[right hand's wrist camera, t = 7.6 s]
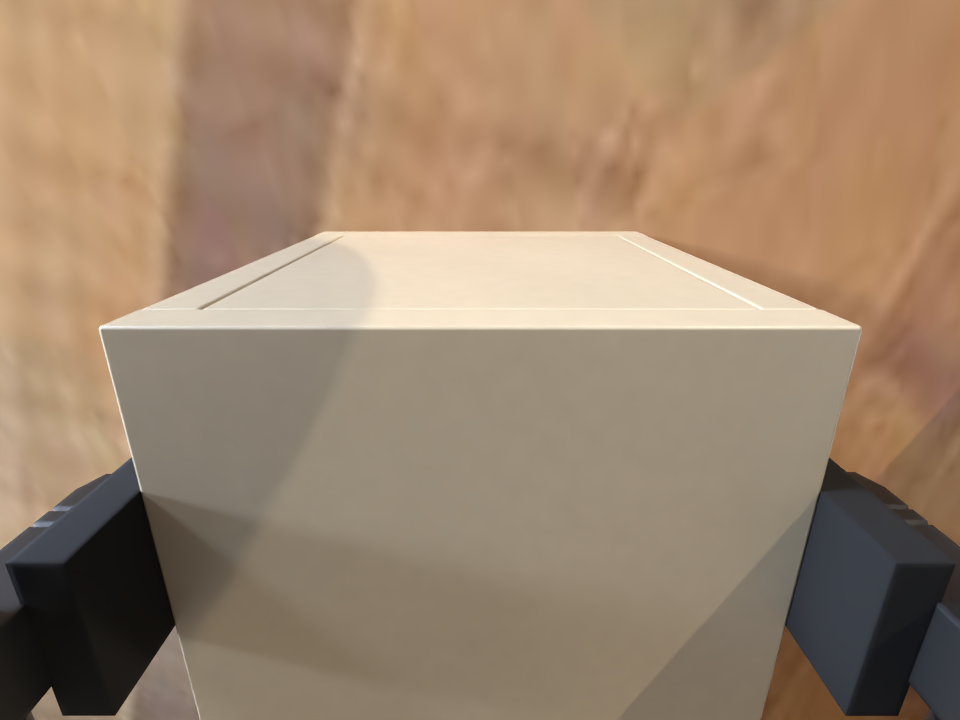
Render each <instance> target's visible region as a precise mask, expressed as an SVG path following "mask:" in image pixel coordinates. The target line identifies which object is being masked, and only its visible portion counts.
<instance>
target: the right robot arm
mask: <svg viewBox="0 0 960 720" xmlns="http://www.w3.org/2000/svg"><path fill="white" fill-rule="evenodd" d="M174 626H175V622H174V618H173V614H172V610H171V606H170V602H169V598H168V595H167V591H166V587H165V583H164V579H163V575H162V571H161V568H160V564H159V560H158V556H157V552H156V548H155V544H154V540H153V537H152V533H151V529H150V525H149V521H148V517H147V513H146V510H145V506H144V502H143V498H142V494H141V490H140V486H139V483H138V479H137V475H136V471H135V467H134V463H133V459H132V458H130V459H129V460H128V461H127V462H126V463H124V464H123V465H122V466H121V467H120V468H118V469H117V470H116V471H115V472H114V473H112V474H105V475H103V476H102V477H100V478H98V479H96V480H94V481H92V482H90V483H88V484H86V485H84V486H82V487H80V488H78V489H76V490H75V491H74V492H72V493H71V494H70V495H69V496H67V497H66V498H65V499H64V500H62V501H61V502H60V503H59V504H57V505H56V506H55V507H54V508H53V511H49V512H47V513H46V514H45V515H44V516H42V517H41V518H40V519H39V520H37V521H36V522H35V523H34V527H29V528H27V529H26V530H25V531H24V532H22V533H21V534H20V535H19V536H17V537H16V538H15V539H14V540H12V541H11V542H10V543H9V544H7V545H6V546H5V547H4V548H2V549H1V550H0V720H34V717H33V715H32V713H31V710H32V709H33V708H34V707H35V705H36V704H37V703H38V702H39V701H40V699H41V698H42V697H43V696H44V695H45V693H46V692H47V691H48V690H49V688H50V687H51V686H52V689H53V691H54V694H55V697H56V699H57V702H58V704H59V707H60V710H61V712H62V715H63V716H115V715H116V713H117V712H118V710H119V709H120V707H121V706H122V704H123V703H124V701H125V700H126V698H127V697H128V695H129V694H130V692H131V691H132V689H133V688H134V686H135V685H136V683H137V682H138V680H139V679H140V677H141V676H142V674H143V673H144V671H145V670H146V668H147V667H148V665H149V664H150V662H151V661H152V659H153V658H154V656H155V655H156V653H157V652H158V650H159V649H160V647H161V646H162V644H163V643H164V641H165V640H166V638H167V637H168V635H169V634H170V632H171V631H172V629H173V628H174ZM786 627H787V628H788V630H789V631H790V633H791V634H792V636H793V637H794V639H795V640H796V642H797V643H798V645H799V646H800V648H801V649H802V651H803V652H804V654H805V655H806V657H807V658H808V660H809V661H810V663H811V664H812V666H813V667H814V669H815V670H816V672H817V673H818V675H819V676H820V678H821V679H822V681H823V682H824V684H825V685H826V687H827V688H828V690H829V691H830V693H831V694H832V696H833V697H834V699H835V700H836V702H837V703H838V705H839V707H840V708H841V710H842V711H843V713H844V714H845V716H898V714H899V712H900V709H901V707H902V704H903V701H904V699H905V696H906V693H907V691H908V688H909V686H910V685H911V686H912V687H913V688H914V689H915V691H916V692H917V693H918V694H919V696H920V697H921V698H922V699H923V700H924V702H925V703H926V704H927V705H928V706H929V708H930V710H929V713H928V715H927V717H926V720H960V547H959V546H958V545H957V544H956V543H954V542H953V541H952V540H950V539H949V538H948V537H947V536H945V535H944V534H943V533H942V532H940V531H939V530H938V529H937V528H935V527H934V526H933V525H928V524H927V520H925V519H924V518H923V517H921V516H920V515H919V514H918V513H916V512H915V511H914V510H913V509H908V505H906V504H905V503H904V502H903V501H901V500H900V499H899V498H898V497H896V496H895V495H894V494H893V493H891V492H890V491H889V490H887V489H886V488H885V487H883V486H881V485H879V484H877V483H875V482H873V481H871V480H869V479H867V478H865V477H863V476H861V475H859V474H857V473H855V472H846V471H845V470H843V469H842V468H841V467H840V466H839V465H837V464H836V463H835V462H834V461H833V460H831V459H830V458H829V459H828V463H827V467H826V471H825V475H824V478H823V482H822V486H821V490H820V494H819V498H818V501H817V505H816V509H815V513H814V517H813V521H812V525H811V528H810V532H809V536H808V540H807V544H806V548H805V552H804V555H803V559H802V563H801V567H800V571H799V575H798V579H797V582H796V586H795V590H794V594H793V598H792V602H791V606H790V609H789V613H788V617H787V621H786Z"/></svg>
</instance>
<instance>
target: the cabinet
mask: <svg viewBox="0 0 960 720" xmlns="http://www.w3.org/2000/svg"><path fill="white" fill-rule="evenodd" d="M99 332H100V336H101V340H102V344H103V347H104V351H105V355H106V359H107V363H108V367H109V371H110V374H111V378H112V382H113V386H114V390H115V394H116V398H117V402H118V405H119V409H120V413H121V417H122V421H123V425H124V429H125V432H126V436H127V440H128V444H129V448H130V452H131V456H132V459H133V463H134V467H135V471H136V475H137V479H138V483H139V486H140V490H141V494H142V498H143V502H144V506H145V510H146V513H147V517H148V521H149V525H150V529H151V533H152V537H153V540H154V544H155V548H156V552H157V556H158V560H159V564H160V568H161V571H162V575H163V579H164V583H165V587H166V591H167V595H168V598H169V602H170V606H171V610H172V614H173V618H174V622H175V625H176V629H177V633H178V637H179V641H180V645H181V649H182V652H183V656H184V660H185V664H186V668H187V672H188V676H189V679H190V683H191V687H192V691H193V695H194V699H195V703H196V706H197V710H198V714H199V718H200V720H761V717H762V714H763V710H764V706H765V702H766V698H767V694H768V690H769V687H770V683H771V679H772V675H773V671H774V667H775V663H776V660H777V656H778V652H779V648H780V644H781V640H782V636H783V633H784V629H785V625H786V621H787V617H788V613H789V609H790V606H791V602H792V598H793V594H794V590H795V586H796V582H797V579H798V575H799V571H800V567H801V563H802V559H803V555H804V552H805V548H806V544H807V540H808V536H809V532H810V528H811V525H812V521H813V517H814V513H815V509H816V505H817V501H818V498H819V494H820V490H821V486H822V482H823V478H824V475H825V471H826V467H827V463H828V459H829V455H830V451H831V448H832V444H833V440H834V436H835V432H836V428H837V424H838V421H839V417H840V413H841V409H842V405H843V401H844V397H845V394H846V390H847V386H848V382H849V378H850V374H851V370H852V367H853V363H854V359H855V355H856V351H857V347H858V343H859V340H860V336H861V332H862V328H861V326H859V325H856V324H854V323H852V322H849V321H847V320H844V319H842V318H840V317H837V316H835V315H833V314H830V313H828V312H825V311H823V310H818V309H817V308H815V307H812V306H810V305H808V304H805V303H803V302H801V301H798V300H796V299H793V298H791V297H789V296H786V295H784V294H782V293H779V292H777V291H775V290H772V289H770V288H768V287H765V286H763V285H760V284H758V283H756V282H753V281H751V280H749V279H746V278H744V277H742V276H739V275H737V274H734V273H732V272H730V271H727V270H725V269H723V268H720V267H718V266H716V265H713V264H711V263H709V262H706V261H704V260H701V259H699V258H697V257H694V256H692V255H690V254H687V253H685V252H683V251H680V250H678V249H676V248H673V247H671V246H668V245H666V244H664V243H661V242H659V241H657V240H654V239H652V238H650V237H647V236H645V235H643V234H641V233H638V232H323V233H320V234H318V235H316V236H314V237H312V238H309V239H307V240H304V241H302V242H300V243H297V244H295V245H293V246H290V247H288V248H286V249H283V250H281V251H279V252H276V253H274V254H272V255H269V256H267V257H264V258H262V259H260V260H257V261H255V262H253V263H250V264H248V265H246V266H243V267H241V268H239V269H236V270H234V271H231V272H229V273H227V274H224V275H222V276H220V277H217V278H215V279H213V280H210V281H208V282H206V283H203V284H201V285H199V286H196V287H194V288H191V289H189V290H187V291H184V292H182V293H180V294H177V295H175V296H173V297H170V298H168V299H166V300H163V301H161V302H159V303H156V304H154V305H151V306H149V307H147V308H145V309H143V310H138V311H135V312H133V313H131V314H128V315H126V316H123V317H121V318H119V319H116V320H114V321H112V322H109V323H107V324H105V325H102V326H100V327H99Z"/></svg>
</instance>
